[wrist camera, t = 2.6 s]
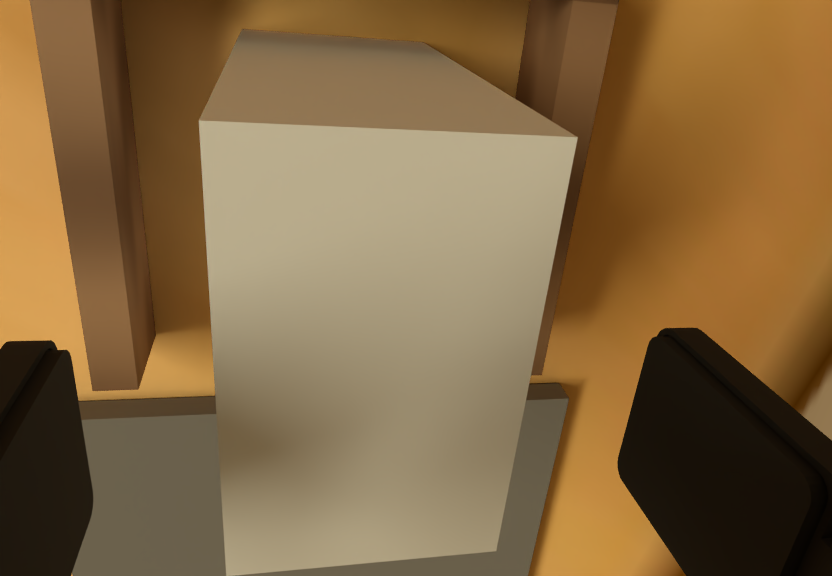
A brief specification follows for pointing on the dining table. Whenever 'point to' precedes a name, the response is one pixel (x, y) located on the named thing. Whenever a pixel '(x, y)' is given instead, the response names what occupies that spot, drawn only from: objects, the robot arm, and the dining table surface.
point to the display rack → (119, 177)
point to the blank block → (371, 296)
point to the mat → (202, 503)
